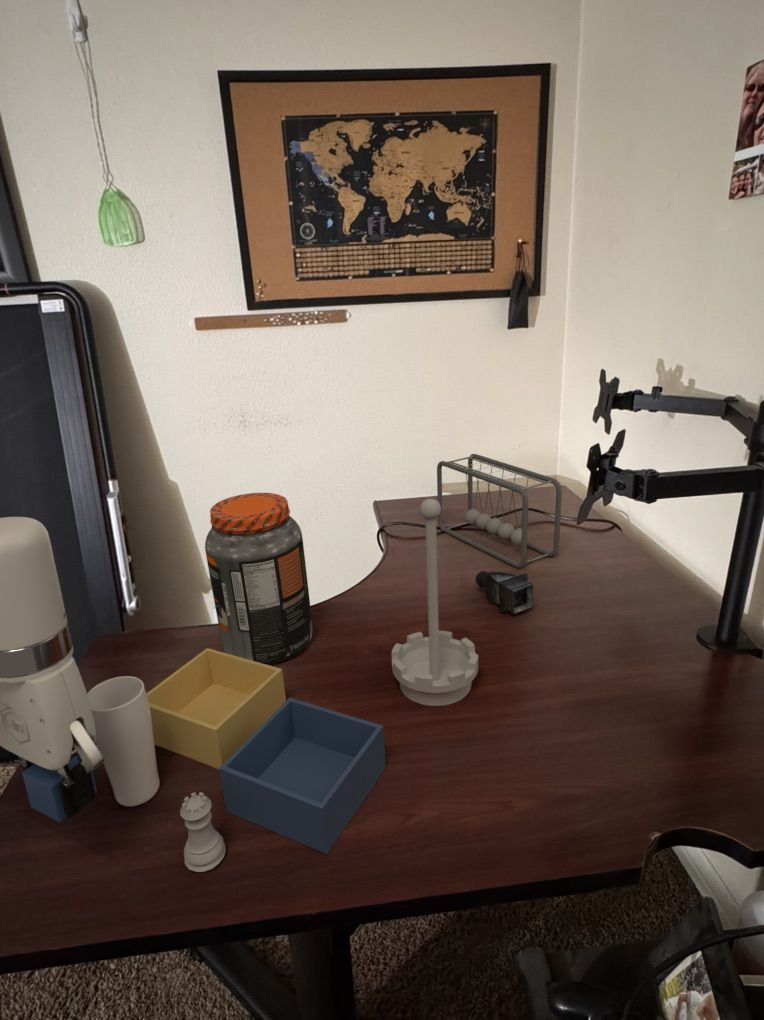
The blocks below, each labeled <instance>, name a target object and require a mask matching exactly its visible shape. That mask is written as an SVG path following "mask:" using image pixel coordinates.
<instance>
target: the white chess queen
mask: <svg viewBox="0 0 764 1020" xmlns="http://www.w3.org/2000/svg"><path fill="white" fill-rule="evenodd" d="M190 796H191V797H189V796H185V797H184V799H183V802H182V803H181V805H182V806H181V808H180V809H179V814H180V817H181V818H182V819H183V820H184V826H185V827H186V829H187V840H186V842H185V845H184V848H183V859H184V865H185V867H186V868H187V869H188V870H190V871H193V872H195V873H206V872H210V871H212V870H213V869H215V868H216V867H217V866H218V865H219V864H220V863H221V861H222V860H223V859H224V858H225V855H226V851H227V849H226V844H225V842H224V841H225V840H224V837H223V836H222V835H221V833H220V832H219V831H217V830H216V829H215V828H214V826H213V824H212V821H211V820H212V817H213V816H212V812H211V809H212V806H213V805H212V800H210V798H209V797H208V796H207V795H205V793H204V792H201V791H199V793H198V794H197V792H192V793H190Z"/></svg>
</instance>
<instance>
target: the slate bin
mask: <svg viewBox="0 0 764 1020" xmlns="http://www.w3.org/2000/svg"><path fill="white" fill-rule="evenodd" d="M386 764H387V763H386V749H385V731H384V725H383V724H378V723H375V722H372V721H369V720H365V719H362V718H358V717H355V716H352V715H350V714H346V713H342V712H340V711H336V710H332V709H329V708H325V707H323V706H319V705H316V704H313V703H310V702H306V701H303V700H299V699H295V698H293V697H288V698H287V699H286V702H285V703H284V704H283V705H282V706H281V707H280V708H279V709H278V710H277V711H276V712H275V713H274V714H273V715H272V716H271V717H270V718H269V719H268V720H267V721H266V722H265V723H264V724H263V725H262V726H261V727H260V728H259V729H258V730H257V731H256V732H255V733H254V734H253V735H252V736H251V737H250V738H249V739H248V740H247V741H246V742H245V743H244V744H243V745H242V746H241V747H240V748H239V749H238V750H237V751H236V752H235V753H234V754H233V755H232V756H231V757H230V758H229V759H228V760H227V761H226V762H225V763H224V764H223V765H222V766H221V767H220V768H219V769H218V772H219V777H220V783H221V789H222V794H223V800H224V805H225V809H226V813H228V814H231V815H233V816H235V817H238V818H241V819H243V820H245V821H247V822H250V823H252V824H254V825H257V826H259V827H262V828H264V829H267V830H268V831H271V832H273V833H276V834H278V835H280V836H282V837H285V838H288V839H290V840H293V842H296V843H299V844H302V845H304V846H306V847H309V848H311V849H313V850H316V851H318V852H320V853H323V854H325V855H328V854H329V853H330V851H331V850H332V849H333V847H334V845H335V844H336V842H337V841H338V840H339V838H340V837H341V835H342V834H343V832H344V831H345V829H346V828H347V826H348V825H349V823H351V820H352V819H353V817H354V816H355V815H356V813H357V811H358V810H359V808H361V805H362V804H363V802H364V801H365V799H366V798H367V796H368V795H369V793H370V792H371V791H372V789H373V787H374V786H375V785H376V783H377V781H378V780H379V779H380V777H381V776H382V774H383V773H384V771H385V770H386V768H387V765H386Z"/></svg>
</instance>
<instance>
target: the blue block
mask: <svg viewBox="0 0 764 1020" xmlns="http://www.w3.org/2000/svg"><path fill="white" fill-rule="evenodd" d="M78 763H79V761H78V758H77V756H74V757H73V758H72V759H70V760H69V763H68V767H69V769H70V770H71V769H72V768H73V767H74V766H76V765H77V764H78ZM21 775H22V778H23V782H24V785H25V790H26V793H27V797H28V801H29V804H30V807H31V808H32V809H33V810H36V811H37V812H40V813H41V814H43V815H45V816H47V817H48V818H51V819H52V820H55V821H56V822H58V823H61V822H63V821H64V820H65V819H66V818H68V816H66V814H65V811H64V806H63V802H62V798H61V794H60V790H59V785H60V784H62V781H61V778H60V776H59V773H58V771H57V770H49V769H45V768H43V767H41V766H39V765H36V764H33V765H32V766H31V767H29V768H28V769H26V770H25V771H24V770H23V771H22V772H21ZM91 776H92V780H93V785H94V789H95V794H97V793H98V790H97V785H96V779H95V775H94V770H93V771H91Z"/></svg>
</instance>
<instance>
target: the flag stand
mask: <svg viewBox="0 0 764 1020" xmlns="http://www.w3.org/2000/svg"><path fill="white" fill-rule="evenodd" d="M440 512H441V506H440V504H439V502H438V500H437V499H434V498H426V499H424V500H423V501H422V502H421V503H420V505H419V513H420V515H421V516H422V518H424V523H425V555H426V557H425V558H426V561H425V562H426V585H427V586H426V587H427V590H426V591H427V623H428V624H427V625H428V636H425V637H424V634H423V633H422V632H421V631H418V632H414V633H411V634H407V635H406V642H405V643H403V644H401V643H397V642H396V643H395V644H394V646H393V648H392V649H391V671H392V675H393V676H394V678H395V679H396V680H397V681H398V682H399V689H400V691H401V693H402V694H403V695H404V696H405V697H406V698H407V699H408V700H411V701H412V702H415V703H417V704H420V705H424V706H428V707H429V706H431V707H442V706H448V705H452V704H455V703H457V702H460V701H461V700H463V699H464V698H465V697H466V696H467V695H468V694H469V693H470V691H471V689H472V682H473V680H475V678H476V677H477V675H478V671H479V654H477V653H476V647H475V646H476V645H475V643H473V642H472V640H470V639H468V638H467V637H463V638H462V639H460V640H458V639H455V638H453V632H452V631H447V630H440V625H439V623H440V622H439V583H438V582H439V581H438V580H439V579H438V537H437V535H438V534H437V519H438V516H439V515H440Z"/></svg>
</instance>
